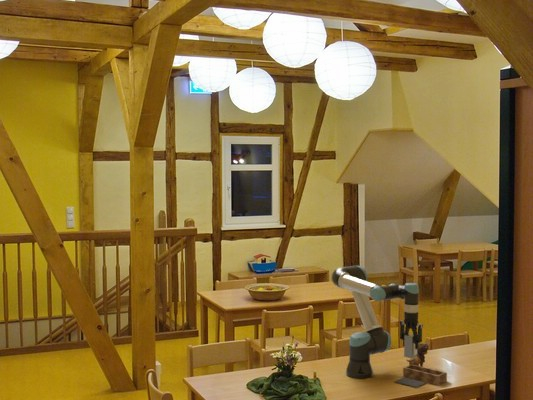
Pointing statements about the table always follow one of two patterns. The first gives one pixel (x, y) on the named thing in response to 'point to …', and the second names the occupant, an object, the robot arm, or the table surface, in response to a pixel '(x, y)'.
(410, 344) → the metal block
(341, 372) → the table surface
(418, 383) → the rubber mat
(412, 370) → the channel
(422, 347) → the figurine
